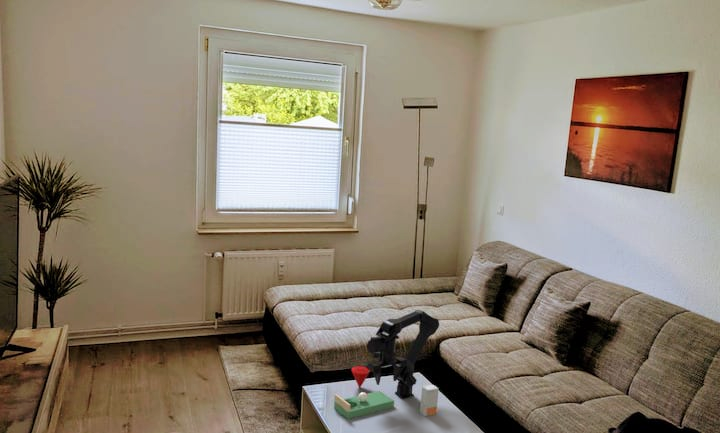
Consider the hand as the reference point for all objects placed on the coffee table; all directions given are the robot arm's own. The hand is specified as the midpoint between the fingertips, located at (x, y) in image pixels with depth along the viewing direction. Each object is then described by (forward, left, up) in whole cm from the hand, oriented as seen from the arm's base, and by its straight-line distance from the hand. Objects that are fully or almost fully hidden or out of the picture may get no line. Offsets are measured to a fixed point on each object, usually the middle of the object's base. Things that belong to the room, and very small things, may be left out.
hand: (386, 382), depth 251 cm
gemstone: (+2, -17, -9) cm, 20 cm away
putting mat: (+11, 0, -9) cm, 14 cm away
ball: (+12, 0, -6) cm, 14 cm away
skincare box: (-11, +17, -9) cm, 22 cm away
